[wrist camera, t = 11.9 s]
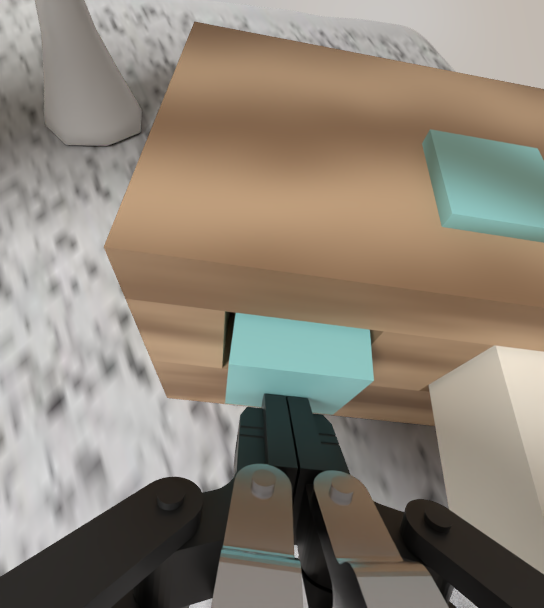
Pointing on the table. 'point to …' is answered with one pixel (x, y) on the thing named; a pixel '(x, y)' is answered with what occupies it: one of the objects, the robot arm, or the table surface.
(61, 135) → the flask
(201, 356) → the block
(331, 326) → the key teal
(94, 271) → the table surface
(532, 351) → the key ivory
